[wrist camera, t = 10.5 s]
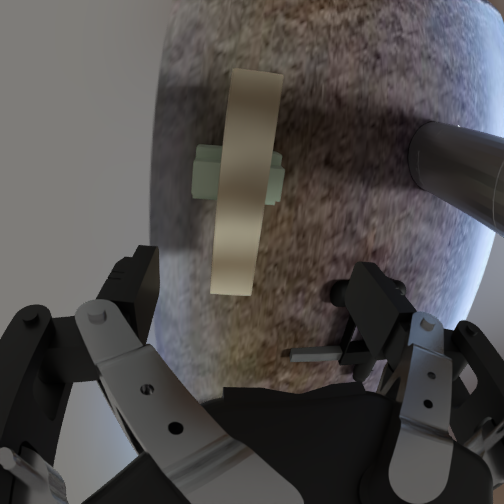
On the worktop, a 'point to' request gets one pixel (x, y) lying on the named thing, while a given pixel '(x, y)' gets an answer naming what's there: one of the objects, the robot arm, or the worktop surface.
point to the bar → (244, 178)
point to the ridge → (209, 170)
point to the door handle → (343, 341)
